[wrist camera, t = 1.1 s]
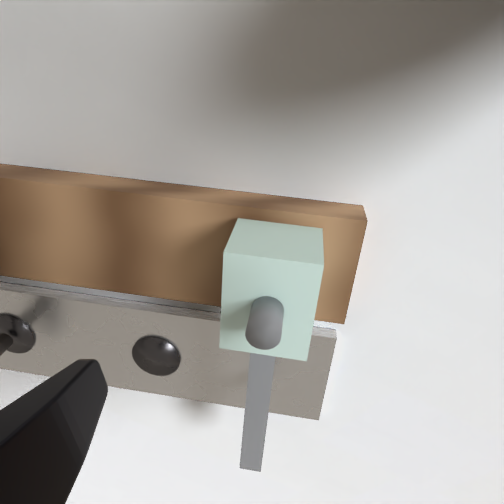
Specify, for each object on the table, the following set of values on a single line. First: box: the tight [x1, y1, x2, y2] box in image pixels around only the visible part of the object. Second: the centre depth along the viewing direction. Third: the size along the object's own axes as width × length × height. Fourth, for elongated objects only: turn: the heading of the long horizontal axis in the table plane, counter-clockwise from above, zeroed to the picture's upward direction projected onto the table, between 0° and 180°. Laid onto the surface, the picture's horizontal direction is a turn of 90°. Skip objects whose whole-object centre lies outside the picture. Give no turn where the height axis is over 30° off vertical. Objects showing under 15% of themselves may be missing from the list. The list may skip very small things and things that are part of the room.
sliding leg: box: [219, 218, 324, 472], centre depth 20 cm, size 4×14×6 cm, turn 176°
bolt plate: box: [0, 282, 337, 420], centre depth 26 cm, size 23×7×1 cm, turn 86°
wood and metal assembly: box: [0, 164, 367, 356], centre depth 22 cm, size 23×14×6 cm, turn 86°
